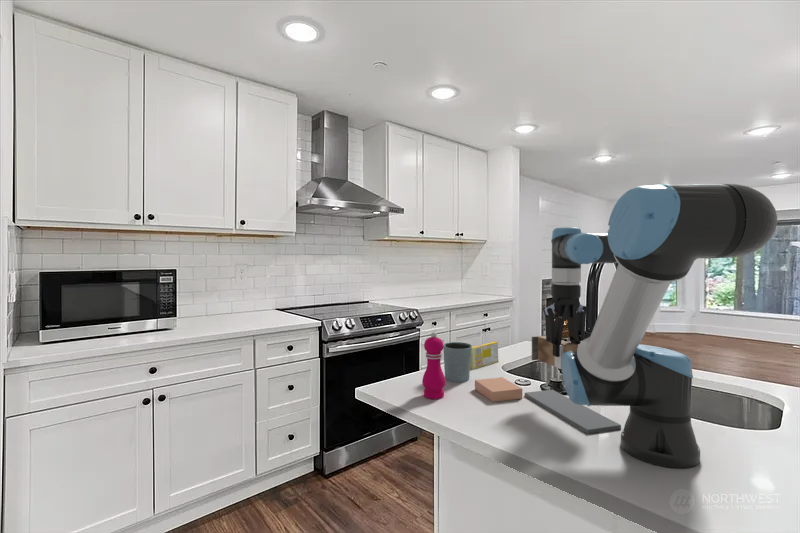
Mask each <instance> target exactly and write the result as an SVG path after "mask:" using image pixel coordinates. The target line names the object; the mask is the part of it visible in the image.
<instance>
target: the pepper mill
mask: <svg viewBox="0 0 800 533" xmlns="http://www.w3.org/2000/svg"><path fill="white" fill-rule="evenodd" d="M443 345H444V341H443V340H442V339H441V338H440V337H437V333H436V332H435V331H433V332H431V334H430V337H428V338H426V340H425V341H424V344H423V348H424V350H425V351H426V352H425V358H426V369H425V370H424V373H423V376H422V383H421V384H422V387H423V388H424V389H423V396H424V398H426V399H430V400H439V399H443V398H444V396H445V389H444V387H445V386H446V383H447V382H446V379H445V373H444V372H443V369H442V366H441V358H443V356H442V355H443V353H442V352H443V351H444V350H443Z"/></svg>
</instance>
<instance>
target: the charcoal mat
mask: <svg viewBox="0 0 800 533" xmlns="http://www.w3.org/2000/svg"><path fill="white" fill-rule="evenodd" d="M524 397H526V398H527V399H529V400H531V401H532V402H534V403H535V404H537V405H539V406H540V407H542V408H544V409H545V410H547V411H549V412H550V413H551V414H552V413H553V414H554V415H556V416H557V417H559V418H560V419H562V420H564V421H566V422H567V423H569V424H570V425H572V426H574V428H575V427H576V428H577V429H579V430H580V431H582V432H584V433H586V434H594V433H602V432H608V431H617V430H621V429H622V425H621V424H619V423H618V422H616V421H614V420H613V419H610V418H608V417H606V416H605V415H603V414H600V413H599V412H596V411H595V410H593V409H590V408H589V407H588V406H586V405H578V404H575V403H573V402H572V401H571V400H570V398H569V396H568V397H567V396H566V395H564V394H562V393H559V392H558V391H556V390H554V389H547V390H545V389H544V390H537V391H528V392H524Z"/></svg>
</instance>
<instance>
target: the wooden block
mask: <svg viewBox="0 0 800 533" xmlns="http://www.w3.org/2000/svg"><path fill="white" fill-rule="evenodd" d="M561 345H563V354H564V353H565V352H569V351H572V352H576V351H577V348H578V346H579V344H578V345H576V344H573V343H571V342H570V341H565V340H563V339H562V340H561ZM531 360H532V361H540V362H541V363H542V362H543V363H545V364H548V365H549V366H553V367H555V356H553V344H552V343H549V342H547V341H546V335H539V336H538V335H537V336H536V335H535V336H531Z"/></svg>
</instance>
